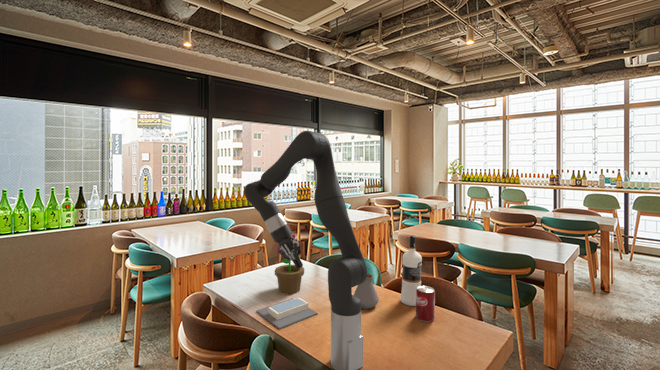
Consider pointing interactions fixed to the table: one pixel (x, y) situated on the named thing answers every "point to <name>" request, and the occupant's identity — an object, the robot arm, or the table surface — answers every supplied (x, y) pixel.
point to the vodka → (411, 274)
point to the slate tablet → (288, 308)
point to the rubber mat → (289, 319)
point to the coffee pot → (367, 293)
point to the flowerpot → (289, 276)
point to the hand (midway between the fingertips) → (300, 267)
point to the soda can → (425, 303)
